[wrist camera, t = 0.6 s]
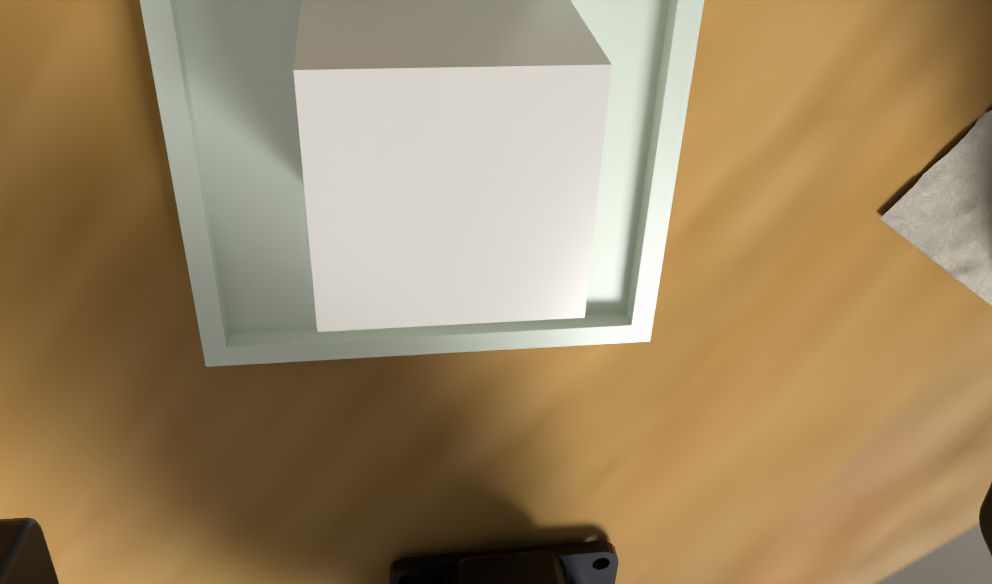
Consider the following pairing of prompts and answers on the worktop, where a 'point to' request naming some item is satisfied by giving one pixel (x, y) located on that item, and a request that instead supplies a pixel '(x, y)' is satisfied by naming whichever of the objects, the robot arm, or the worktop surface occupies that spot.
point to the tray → (281, 198)
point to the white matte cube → (449, 159)
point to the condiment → (954, 211)
